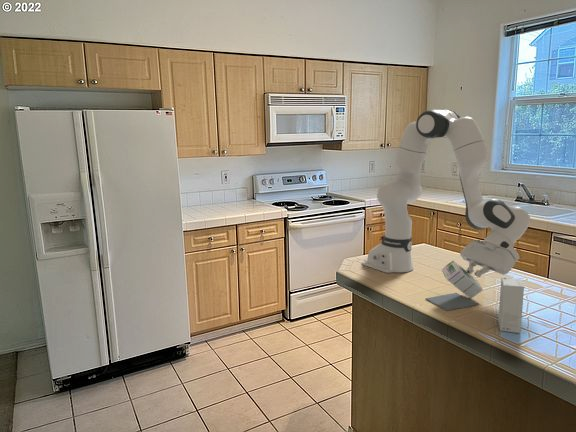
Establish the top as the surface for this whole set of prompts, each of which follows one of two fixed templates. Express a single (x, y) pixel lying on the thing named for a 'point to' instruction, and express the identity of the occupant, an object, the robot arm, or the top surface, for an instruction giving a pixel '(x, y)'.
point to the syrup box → (462, 279)
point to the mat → (452, 301)
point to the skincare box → (511, 305)
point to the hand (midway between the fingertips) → (472, 274)
